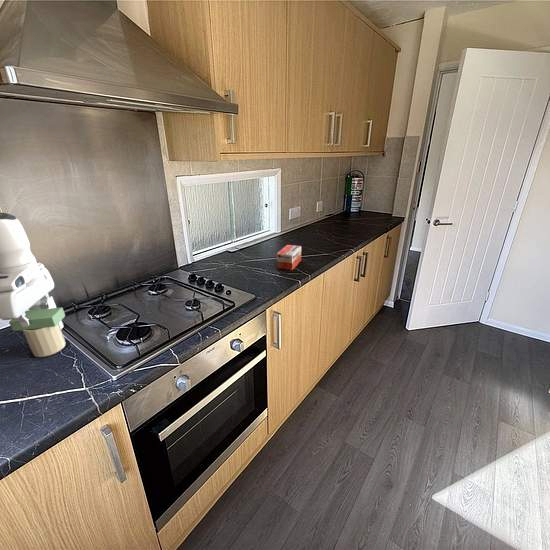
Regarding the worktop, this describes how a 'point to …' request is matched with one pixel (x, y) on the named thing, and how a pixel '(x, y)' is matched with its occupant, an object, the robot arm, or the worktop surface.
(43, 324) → the green flat block
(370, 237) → the worktop surface
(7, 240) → the robot arm
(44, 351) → the cup
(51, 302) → the cosmetic box
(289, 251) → the medicine box
